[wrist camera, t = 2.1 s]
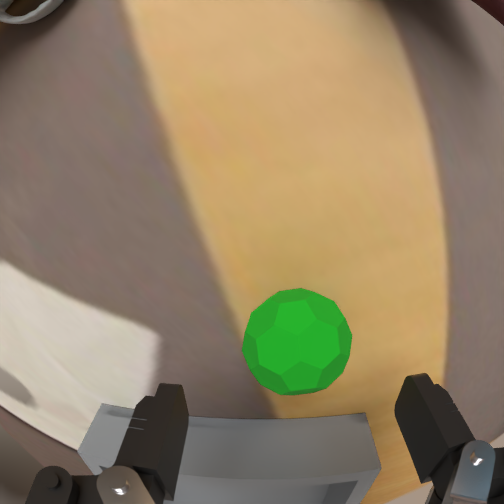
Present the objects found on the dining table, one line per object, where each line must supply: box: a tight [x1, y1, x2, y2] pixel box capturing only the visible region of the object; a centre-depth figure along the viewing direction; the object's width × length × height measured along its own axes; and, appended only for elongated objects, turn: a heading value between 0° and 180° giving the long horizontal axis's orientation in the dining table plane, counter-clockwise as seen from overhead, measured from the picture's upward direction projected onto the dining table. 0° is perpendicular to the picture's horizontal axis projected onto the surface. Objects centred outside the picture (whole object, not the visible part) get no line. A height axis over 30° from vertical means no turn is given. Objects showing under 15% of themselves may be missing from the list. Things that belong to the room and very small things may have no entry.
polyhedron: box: [242, 288, 352, 395], centre depth 14 cm, size 5×5×5 cm
